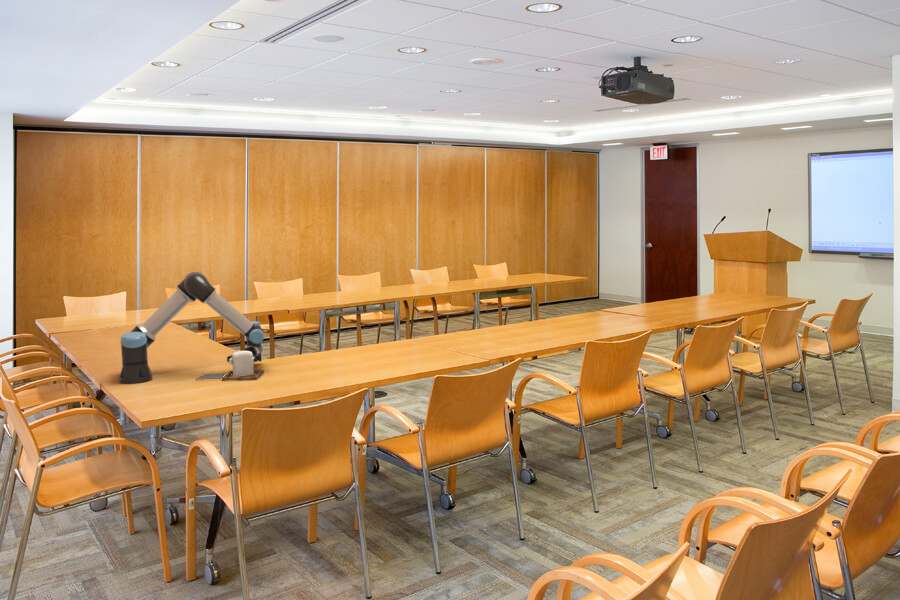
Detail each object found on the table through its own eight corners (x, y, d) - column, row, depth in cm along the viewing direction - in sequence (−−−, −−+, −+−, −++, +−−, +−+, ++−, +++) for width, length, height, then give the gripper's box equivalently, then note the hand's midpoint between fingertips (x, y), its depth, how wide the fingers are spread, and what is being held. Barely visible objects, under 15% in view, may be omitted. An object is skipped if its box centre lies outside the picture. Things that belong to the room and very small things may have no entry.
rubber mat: (195, 380, 363) (195, 379, 363) (202, 375, 375) (202, 374, 375) (220, 379, 364) (220, 378, 364) (226, 374, 376) (226, 373, 376)
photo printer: (233, 376, 365) (232, 352, 364) (232, 375, 369) (231, 351, 368) (254, 374, 370) (253, 350, 368) (252, 373, 374) (252, 349, 372)
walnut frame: (222, 380, 361) (221, 377, 361) (230, 373, 378) (230, 370, 377) (257, 380, 362) (256, 377, 362) (263, 372, 379) (263, 369, 378)
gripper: (272, 360, 388) (263, 369, 365) (229, 361, 386) (218, 369, 364) (271, 346, 387) (263, 354, 365) (228, 347, 386) (217, 354, 363)
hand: (240, 362), depth 364 cm, fingers closed on photo printer, 10 cm apart
